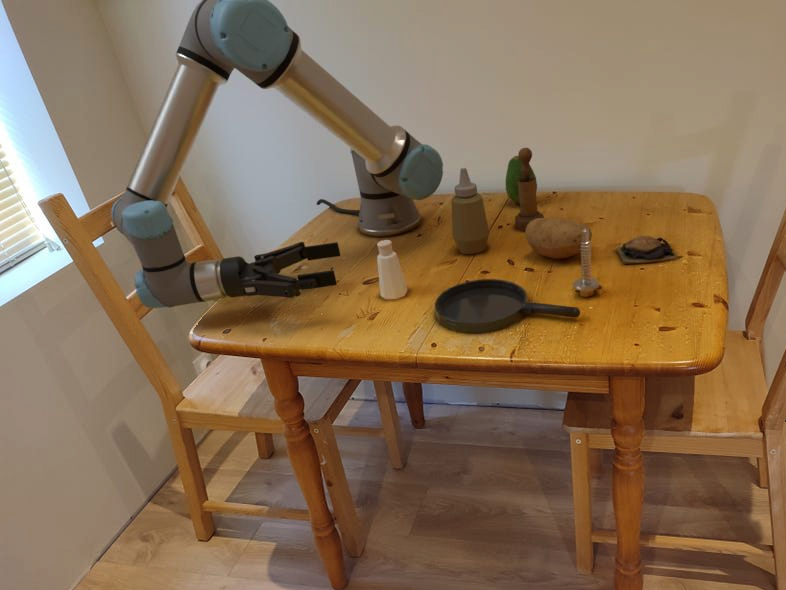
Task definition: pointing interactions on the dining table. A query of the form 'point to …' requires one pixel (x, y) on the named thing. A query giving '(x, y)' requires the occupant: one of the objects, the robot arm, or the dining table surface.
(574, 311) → the pan handle
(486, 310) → the pan
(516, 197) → the avocado
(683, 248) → the dining table surface
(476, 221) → the squeeze bottle
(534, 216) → the mortar and pestle
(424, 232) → the dining table surface
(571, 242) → the potato
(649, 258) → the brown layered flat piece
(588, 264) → the screw
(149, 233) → the robot arm
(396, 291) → the salt shaker
